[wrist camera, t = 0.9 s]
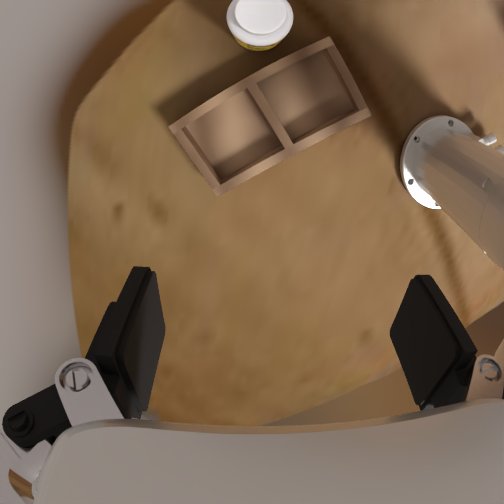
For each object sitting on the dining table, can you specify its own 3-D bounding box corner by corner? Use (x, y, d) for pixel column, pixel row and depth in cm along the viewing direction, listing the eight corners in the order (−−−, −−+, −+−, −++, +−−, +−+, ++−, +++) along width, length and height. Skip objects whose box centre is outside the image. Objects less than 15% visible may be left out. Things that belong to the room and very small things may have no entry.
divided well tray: (323, 38, 28) (329, 36, 25) (362, 111, 32) (371, 115, 29) (175, 122, 33) (168, 126, 30) (220, 187, 37) (217, 196, 35)
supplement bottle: (243, 58, 29) (238, 53, 21) (224, 15, 26) (212, -6, 18) (292, 43, 28) (307, 32, 19) (274, -1, 25) (282, -27, 17)
